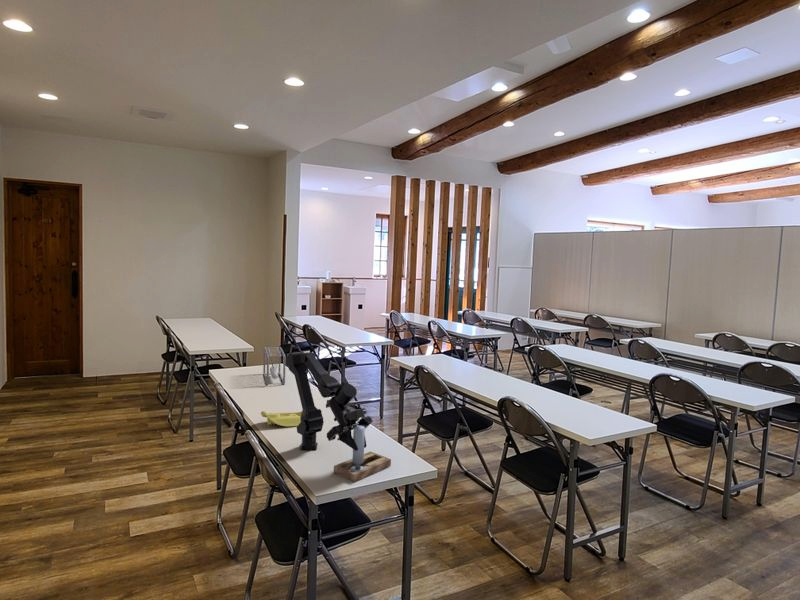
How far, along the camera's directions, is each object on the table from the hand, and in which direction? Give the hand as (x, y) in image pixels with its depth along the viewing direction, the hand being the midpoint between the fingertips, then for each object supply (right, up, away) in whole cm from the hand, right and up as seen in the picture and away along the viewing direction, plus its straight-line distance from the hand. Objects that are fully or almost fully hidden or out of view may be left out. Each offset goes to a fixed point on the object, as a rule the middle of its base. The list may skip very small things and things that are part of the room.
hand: (361, 448), depth 181 cm
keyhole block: (0, -9, +4) cm, 9 cm away
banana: (-39, -3, +50) cm, 64 cm away
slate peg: (-1, -8, +2) cm, 9 cm away
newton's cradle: (-63, +4, +128) cm, 143 cm away
